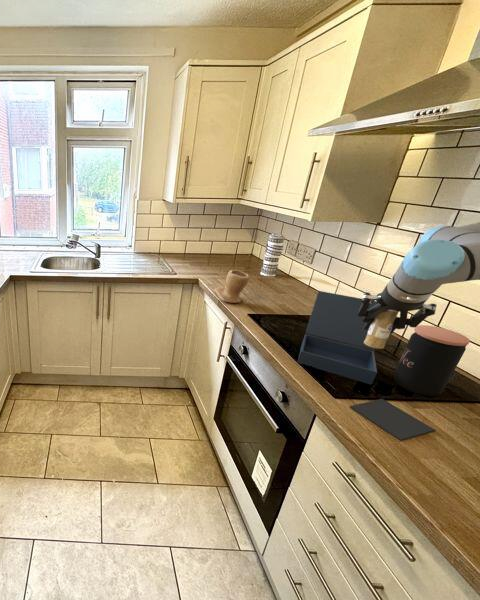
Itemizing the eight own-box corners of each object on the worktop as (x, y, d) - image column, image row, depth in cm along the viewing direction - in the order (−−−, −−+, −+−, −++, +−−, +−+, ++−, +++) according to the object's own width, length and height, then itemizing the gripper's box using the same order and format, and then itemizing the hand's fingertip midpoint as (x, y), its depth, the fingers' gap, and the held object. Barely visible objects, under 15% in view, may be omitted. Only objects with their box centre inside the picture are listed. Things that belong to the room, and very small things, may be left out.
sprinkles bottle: (380, 351, 87) (399, 306, 82) (360, 343, 91) (377, 300, 86) (386, 346, 89) (405, 303, 84) (366, 339, 93) (383, 297, 88)
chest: (371, 384, 96) (377, 372, 94) (297, 362, 106) (300, 351, 105) (368, 362, 107) (373, 351, 105) (301, 344, 118) (305, 333, 116)
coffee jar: (394, 371, 102) (417, 321, 95) (442, 387, 94) (471, 334, 88) (388, 384, 96) (412, 332, 89) (439, 402, 88) (469, 347, 81)
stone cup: (247, 305, 152) (253, 276, 146) (221, 304, 153) (226, 274, 147) (237, 294, 165) (243, 266, 160) (213, 293, 167) (218, 265, 161)
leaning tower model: (258, 274, 197) (267, 234, 187) (260, 271, 204) (269, 232, 194) (275, 277, 192) (285, 236, 182) (276, 273, 199) (287, 234, 189)
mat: (434, 431, 79) (435, 429, 78) (400, 441, 76) (401, 439, 75) (381, 399, 89) (382, 398, 89) (349, 407, 86) (350, 405, 86)
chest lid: (391, 304, 100) (391, 303, 101) (318, 290, 111) (318, 290, 112) (374, 350, 104) (374, 349, 105) (305, 333, 115) (305, 332, 116)
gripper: (356, 295, 77) (337, 330, 95) (461, 314, 67) (417, 349, 85) (363, 269, 79) (342, 308, 97) (466, 284, 69) (422, 324, 87)
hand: (377, 327), depth 91 cm, fingers closed on sprinkles bottle, 4 cm apart
